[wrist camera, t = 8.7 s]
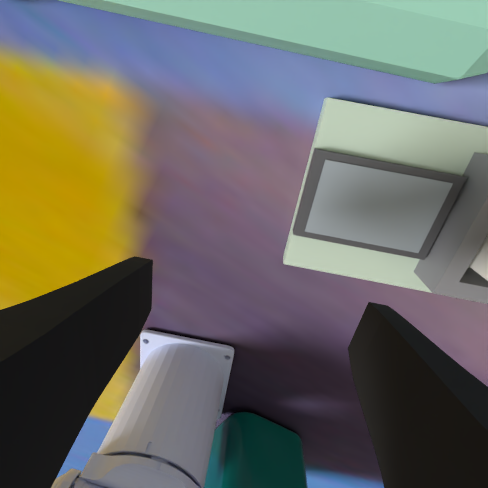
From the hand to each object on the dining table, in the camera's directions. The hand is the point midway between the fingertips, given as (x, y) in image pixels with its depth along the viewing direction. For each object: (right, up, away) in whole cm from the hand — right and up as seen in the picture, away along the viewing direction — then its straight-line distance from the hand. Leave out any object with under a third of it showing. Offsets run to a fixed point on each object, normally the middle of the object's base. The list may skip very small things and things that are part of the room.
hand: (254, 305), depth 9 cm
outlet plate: (+12, +4, +8) cm, 15 cm away
